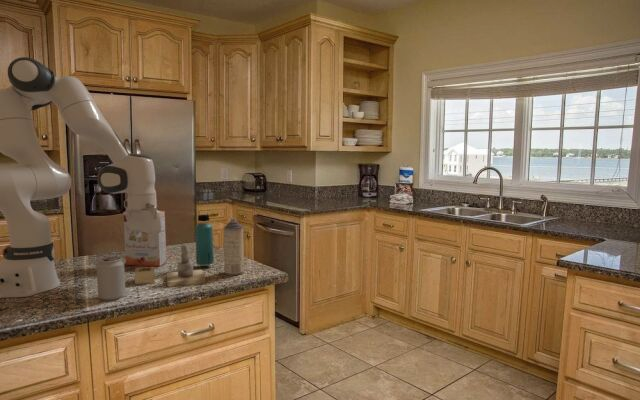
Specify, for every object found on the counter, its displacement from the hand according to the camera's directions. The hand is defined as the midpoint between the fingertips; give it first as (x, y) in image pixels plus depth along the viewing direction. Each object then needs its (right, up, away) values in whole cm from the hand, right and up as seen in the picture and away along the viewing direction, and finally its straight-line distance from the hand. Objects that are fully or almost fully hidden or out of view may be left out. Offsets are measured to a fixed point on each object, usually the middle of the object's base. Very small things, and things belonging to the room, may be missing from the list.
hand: (145, 243), depth 147 cm
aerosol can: (+27, -12, +12) cm, 32 cm away
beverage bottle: (+15, -11, +20) cm, 27 cm away
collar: (-1, -13, +1) cm, 13 cm away
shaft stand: (+13, -13, +3) cm, 18 cm away
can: (-4, -15, -15) cm, 21 cm away
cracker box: (-9, -10, +23) cm, 27 cm away
